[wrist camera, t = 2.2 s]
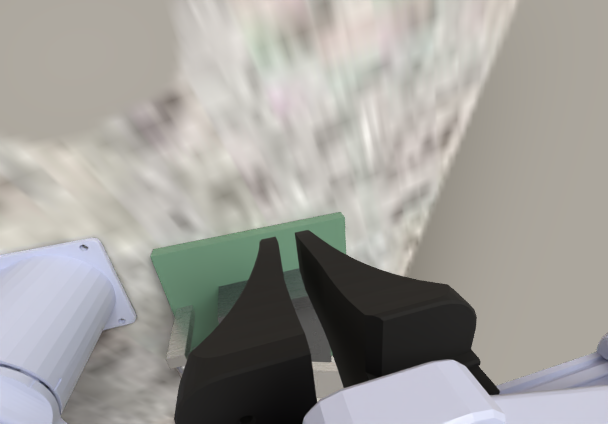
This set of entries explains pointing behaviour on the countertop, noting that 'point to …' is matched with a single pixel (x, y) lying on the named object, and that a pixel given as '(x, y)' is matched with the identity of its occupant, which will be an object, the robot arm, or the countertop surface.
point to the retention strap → (316, 378)
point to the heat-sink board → (236, 281)
